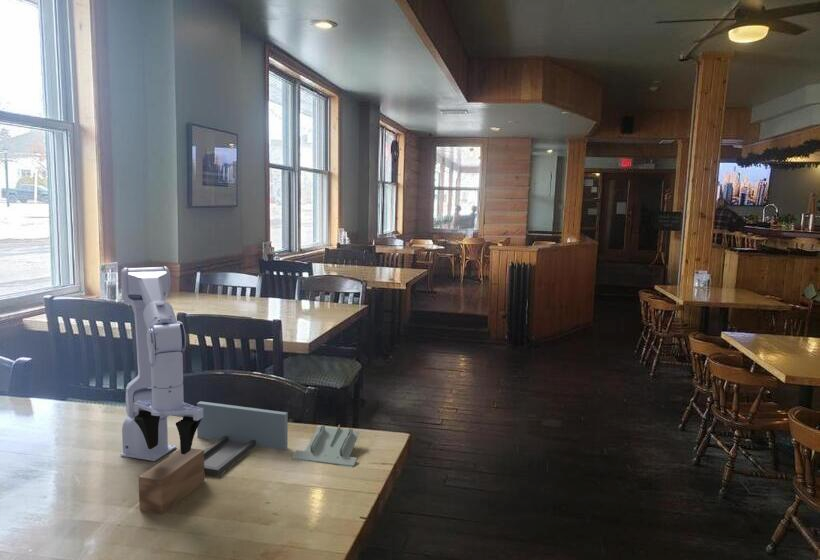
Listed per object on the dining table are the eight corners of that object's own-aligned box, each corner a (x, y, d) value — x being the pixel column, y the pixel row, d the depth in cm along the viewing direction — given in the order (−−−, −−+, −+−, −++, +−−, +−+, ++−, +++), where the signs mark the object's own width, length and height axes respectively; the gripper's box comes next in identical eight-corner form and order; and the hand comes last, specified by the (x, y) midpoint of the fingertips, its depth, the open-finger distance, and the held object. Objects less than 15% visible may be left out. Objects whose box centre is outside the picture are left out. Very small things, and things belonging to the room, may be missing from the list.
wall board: (153, 466, 129) (152, 427, 128) (201, 435, 146) (200, 401, 145) (249, 481, 123) (249, 441, 122) (287, 447, 141) (287, 412, 139)
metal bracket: (311, 418, 146) (368, 424, 143) (313, 436, 148) (369, 443, 145) (289, 456, 133) (351, 464, 130) (292, 475, 135) (353, 483, 132)
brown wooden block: (139, 510, 111) (138, 476, 110) (183, 477, 125) (183, 447, 124) (162, 514, 110) (161, 480, 109) (204, 480, 123) (203, 450, 122)
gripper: (121, 386, 111) (124, 453, 113) (187, 394, 107) (188, 463, 109) (146, 375, 118) (148, 438, 119) (209, 383, 114) (210, 448, 116)
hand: (169, 449), depth 115 cm, fingers open, 7 cm apart
